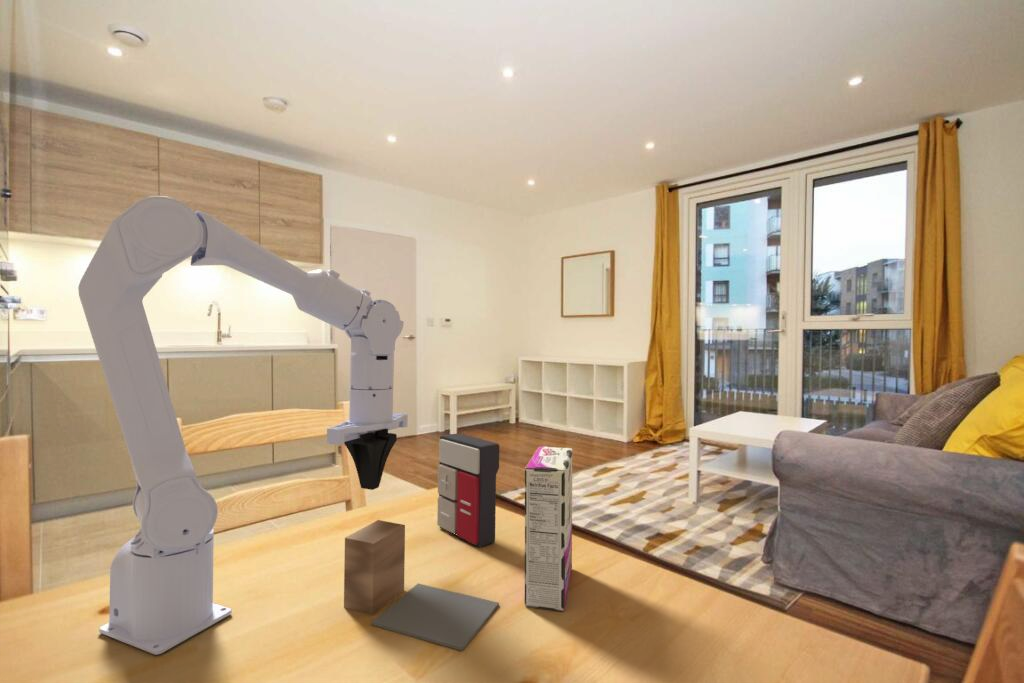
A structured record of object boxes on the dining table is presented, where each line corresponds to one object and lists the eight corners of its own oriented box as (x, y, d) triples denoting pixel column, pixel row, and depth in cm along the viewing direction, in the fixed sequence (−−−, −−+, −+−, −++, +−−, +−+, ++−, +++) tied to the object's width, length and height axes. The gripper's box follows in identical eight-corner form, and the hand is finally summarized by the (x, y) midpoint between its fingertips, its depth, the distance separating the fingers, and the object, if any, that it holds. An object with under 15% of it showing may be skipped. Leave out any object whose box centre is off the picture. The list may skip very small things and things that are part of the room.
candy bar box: (535, 564, 67) (537, 445, 67) (572, 568, 66) (574, 447, 66) (521, 608, 56) (523, 465, 56) (564, 613, 55) (567, 468, 55)
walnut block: (343, 607, 55) (344, 537, 55) (377, 583, 61) (378, 519, 61) (372, 615, 54) (373, 543, 54) (404, 590, 59) (405, 524, 59)
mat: (371, 624, 52) (371, 621, 52) (417, 585, 60) (417, 583, 60) (462, 650, 48) (462, 647, 48) (498, 605, 56) (498, 602, 56)
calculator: (434, 527, 79) (435, 435, 79) (455, 521, 82) (457, 432, 82) (476, 550, 71) (477, 447, 71) (498, 542, 74) (500, 443, 74)
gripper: (360, 394, 58) (357, 508, 58) (425, 385, 71) (423, 477, 71) (314, 391, 61) (312, 500, 61) (386, 383, 74) (384, 472, 74)
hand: (369, 487), depth 66 cm, fingers closed
